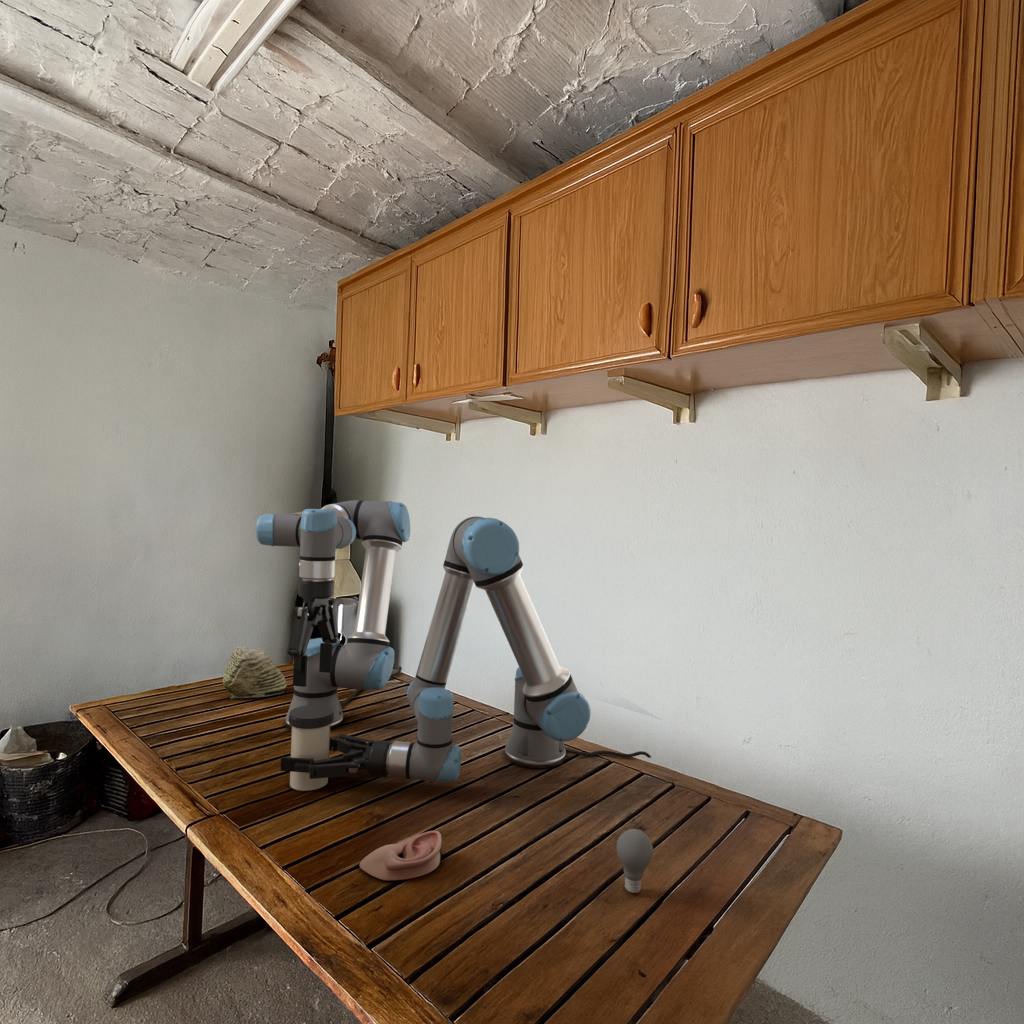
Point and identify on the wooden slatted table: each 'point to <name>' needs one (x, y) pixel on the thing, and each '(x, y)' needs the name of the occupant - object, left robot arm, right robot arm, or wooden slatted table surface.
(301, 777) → the jar
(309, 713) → the lid
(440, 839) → the anatomical model
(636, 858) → the light bulb
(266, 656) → the fossil
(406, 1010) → the wooden slatted table surface
